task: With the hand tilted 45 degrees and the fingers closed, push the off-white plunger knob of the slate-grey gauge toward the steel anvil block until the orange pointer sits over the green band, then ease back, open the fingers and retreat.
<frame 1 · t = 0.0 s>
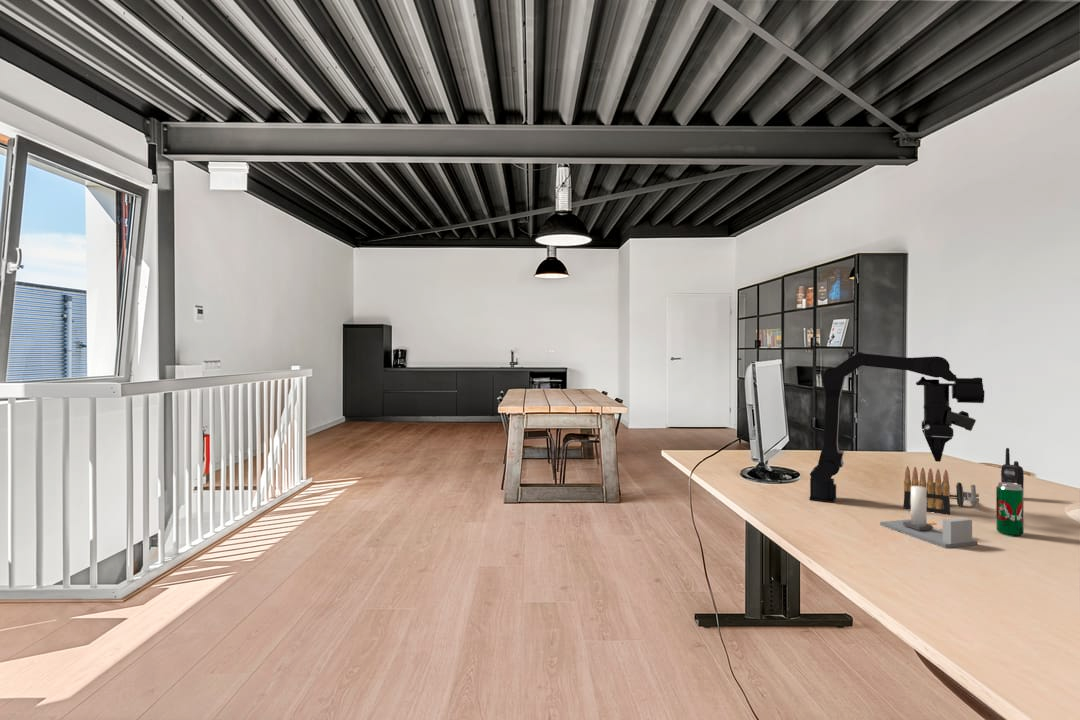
hand: (936, 458, 156), 15 cm above the table, tool pointing down, fingers open, 9 cm apart
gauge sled: (922, 506, 140), point 6 cm above the table, slide at 0.0 cm
gauge board: (926, 534, 137), on the table
ammunition clip: (926, 511, 157), on the table
soda can: (1009, 534, 137), on the table
two-way radio: (1013, 498, 171), on the table
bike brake: (948, 502, 168), on the table
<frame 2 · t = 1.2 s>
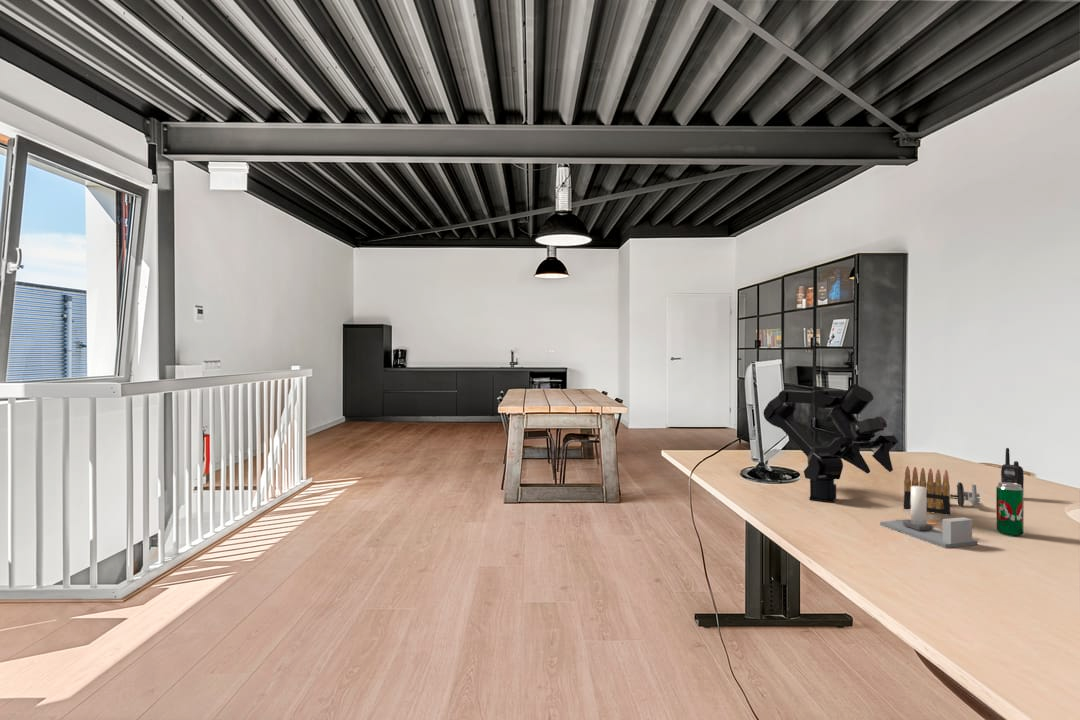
hand: (880, 471, 150), 12 cm above the table, tool tilted 45°, fingers open, 7 cm apart
nothing on the table moved.
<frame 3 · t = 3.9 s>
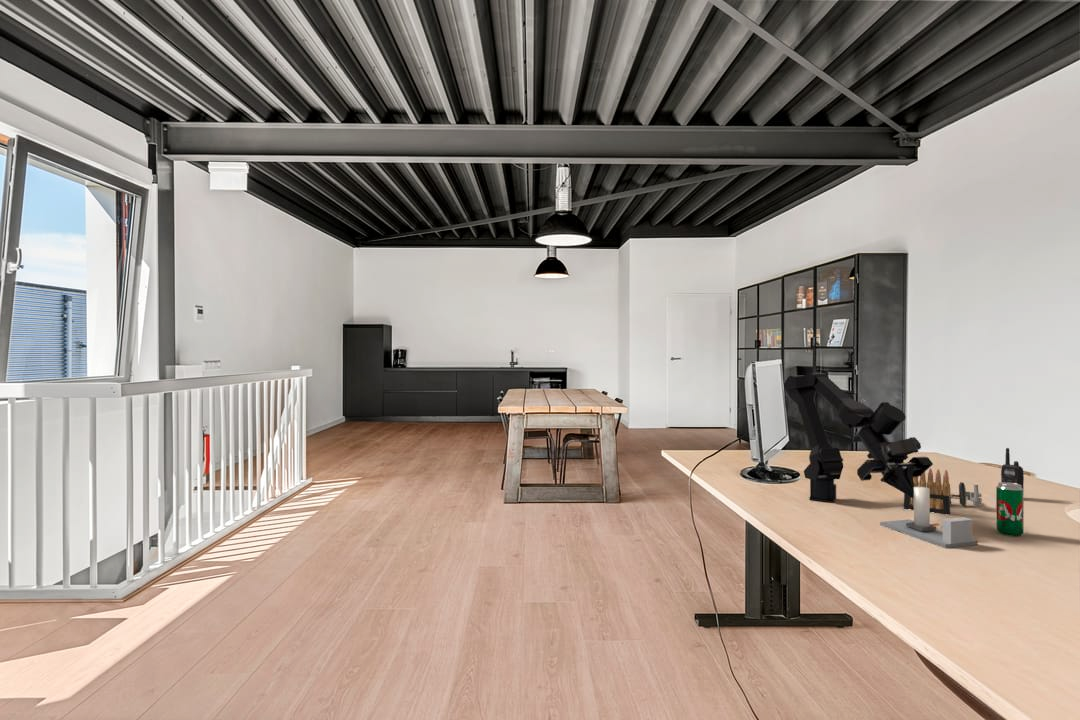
hand: (914, 497, 140), 8 cm above the table, tool tilted 45°, fingers closed, pressing on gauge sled
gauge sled: (925, 507, 139), point 6 cm above the table, slide at 0.9 cm, touching gripper
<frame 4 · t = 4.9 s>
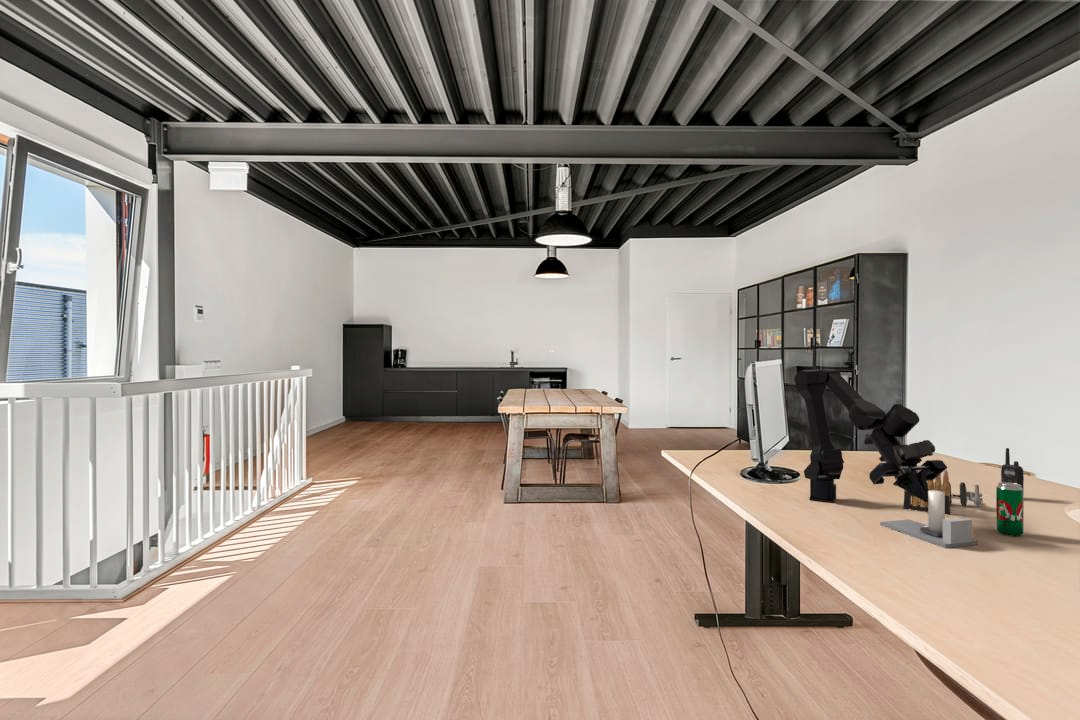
hand: (929, 501, 136), 8 cm above the table, tool tilted 45°, fingers closed
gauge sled: (940, 511, 135), point 6 cm above the table, slide at 4.8 cm
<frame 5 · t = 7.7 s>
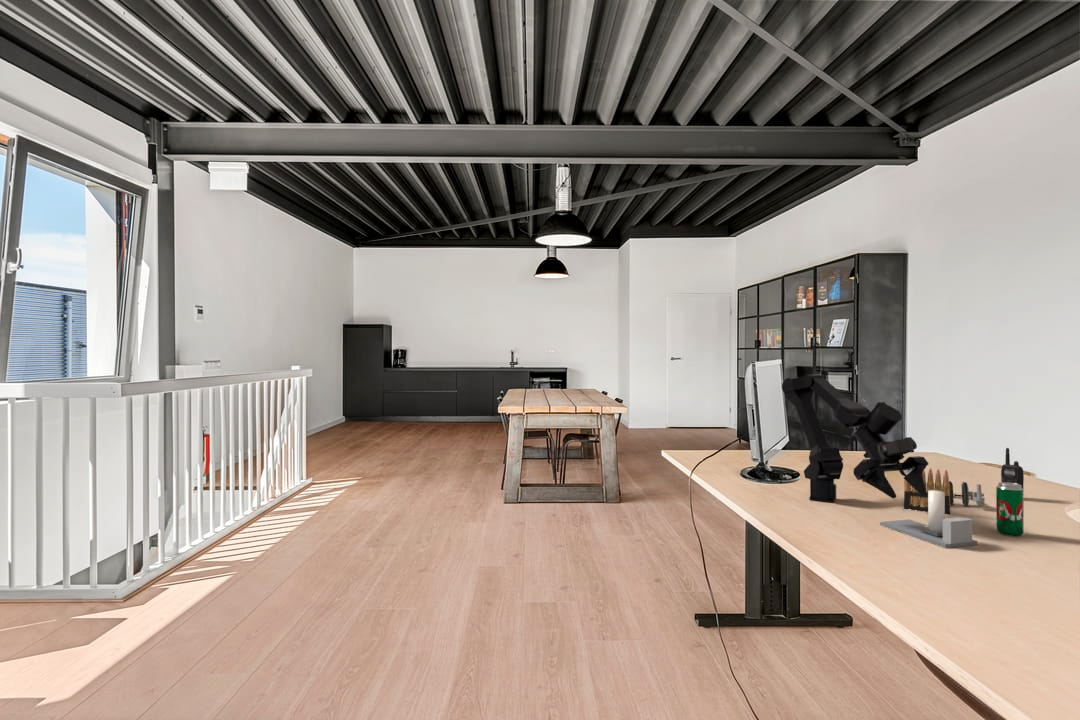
hand: (910, 496, 141), 8 cm above the table, tool tilted 45°, fingers open, 9 cm apart
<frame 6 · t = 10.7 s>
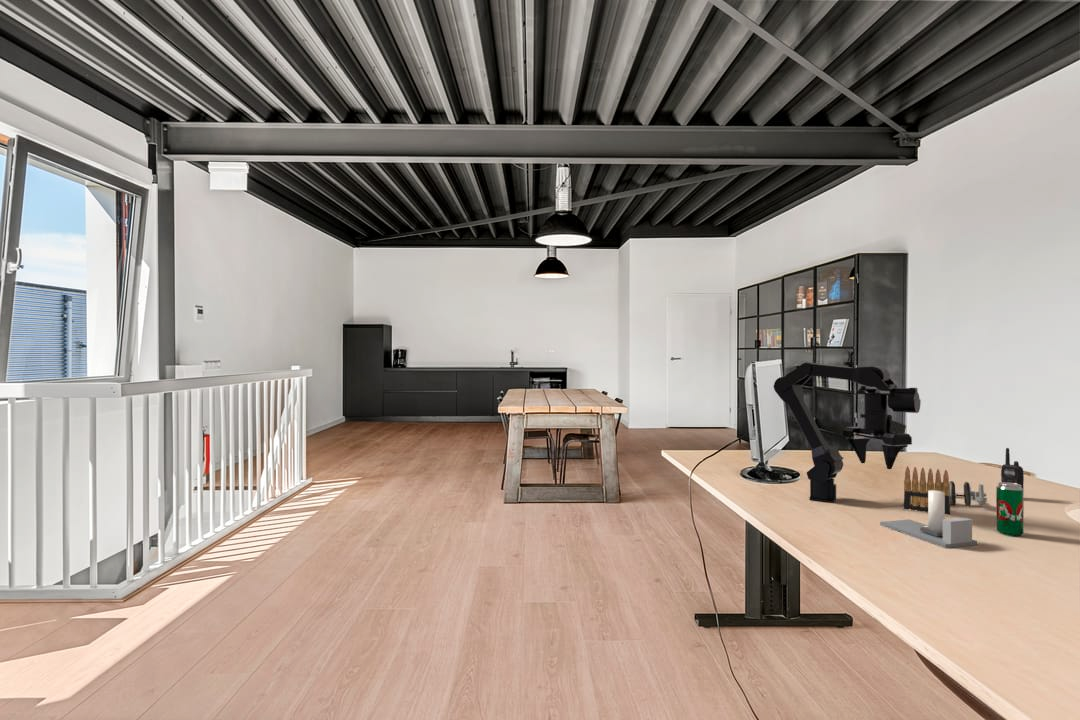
hand: (875, 466, 160), 12 cm above the table, tool pointing down, fingers open, 9 cm apart
at the end: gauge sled slide at 4.8 cm; the gripper is holding nothing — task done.
